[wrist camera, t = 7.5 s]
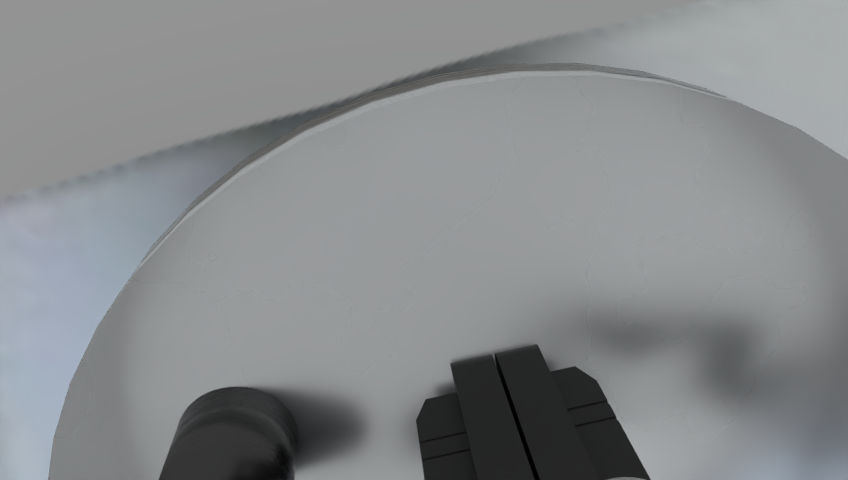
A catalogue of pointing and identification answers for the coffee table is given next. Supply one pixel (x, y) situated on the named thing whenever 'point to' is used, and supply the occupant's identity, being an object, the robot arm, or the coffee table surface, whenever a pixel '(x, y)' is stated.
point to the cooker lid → (486, 285)
